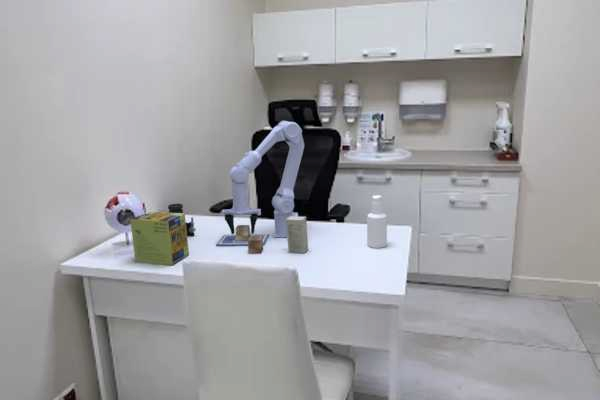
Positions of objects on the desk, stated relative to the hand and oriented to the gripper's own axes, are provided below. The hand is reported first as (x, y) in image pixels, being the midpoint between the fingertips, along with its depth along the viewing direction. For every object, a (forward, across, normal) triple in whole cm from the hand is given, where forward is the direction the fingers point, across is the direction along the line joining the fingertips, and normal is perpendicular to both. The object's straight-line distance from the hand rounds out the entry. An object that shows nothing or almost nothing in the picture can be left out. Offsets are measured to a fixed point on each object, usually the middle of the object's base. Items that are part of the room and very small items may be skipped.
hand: (242, 233), depth 177 cm
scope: (+3, -26, +4) cm, 26 cm away
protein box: (+3, -25, -18) cm, 31 cm away
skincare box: (+3, +22, -12) cm, 25 cm away
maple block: (+2, 0, 0) cm, 2 cm away
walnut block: (+3, +7, -12) cm, 14 cm away
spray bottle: (+3, +50, -7) cm, 51 cm away
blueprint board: (+3, 0, 0) cm, 3 cm away
